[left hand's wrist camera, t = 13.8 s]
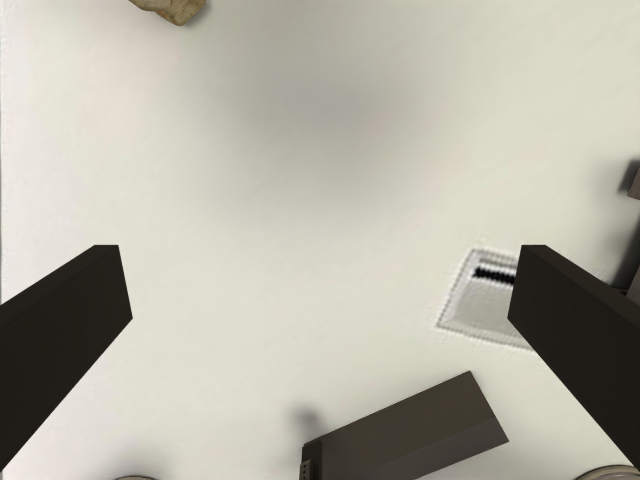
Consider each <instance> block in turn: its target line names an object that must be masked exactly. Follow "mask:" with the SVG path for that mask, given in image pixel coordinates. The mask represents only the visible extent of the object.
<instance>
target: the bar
mask: <svg viewBox="0 0 640 480" xmlns="http://www.w3.org/2000/svg"><path fill="white" fill-rule="evenodd" d="M317 440H320V441H321V442H322V480H415V479H417V478H420V477H422V476H425V475H427V474H430V473H432V472H435V471H437V470H440V469H442V468H445V467H447V466H450V465H452V464H455V463H457V462H460V461H462V460H465V459H467V458H470V457H472V456H474V455H477V454H479V453H482V452H484V451H487V450H489V449H492V448H494V447H497V446H499V445H502V444H504V443H507V442H509V440H508V438H507V436H506V434H505V433H504V431H503V429H502V427H501V425H500V424H499V422H498V420H497V418H496V416H495V414H494V413H493V411H492V409H491V407H490V405H489V404H488V402H487V400H486V398H485V396H484V395H483V393H482V391H481V389H480V387H479V386H478V384H477V382H476V380H475V378H474V377H473V375H472V373H471V371H468V372H466V373H464V374H461V375H459V376H457V377H455V378H452V379H450V380H448V381H446V382H443V383H441V384H439V385H437V386H434V387H432V388H430V389H428V390H425V391H423V392H421V393H419V394H416V395H414V396H412V397H410V398H407V399H405V400H403V401H401V402H398V403H396V404H394V405H392V406H389V407H387V408H385V409H383V410H380V411H378V412H376V413H374V414H371V415H369V416H367V417H364V418H362V419H360V420H358V421H355V422H353V423H351V424H349V425H346V426H344V427H342V428H340V429H337V430H335V431H333V432H331V433H328V434H326V435H324V436H322V437H319V438H317V439H315V440H313V441H310V442H308V443H306V444H304V446H306V445H309V444H311V443H313V442H315V441H317Z"/></svg>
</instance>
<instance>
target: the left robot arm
mask: <svg viewBox="0 0 640 480" xmlns="http://www.w3.org/2000/svg"><path fill="white" fill-rule="evenodd" d="M132 319H133V317H132V312H131V307H130V302H129V297H128V292H127V286H126V281H125V276H124V271H123V266H122V261H121V256H120V251H119V246H118V245H94V246H92V247H91V248H89V249H88V250H86V251H84V252H83V253H81V254H80V255H78V256H77V257H75V258H74V259H72V260H70V261H69V262H67V263H66V264H64V265H63V266H61V267H60V268H58V269H56V270H55V271H53V272H52V273H50V274H49V275H47V276H45V277H44V278H42V279H41V280H39V281H38V282H36V283H35V284H33V285H31V286H30V287H28V288H27V289H25V290H24V291H22V292H21V293H19V294H17V295H16V296H14V297H13V298H11V299H10V300H8V301H7V302H5V303H3V304H2V305H0V472H1V471H2V470H3V469H4V468H5V467H6V465H7V464H8V463H9V462H10V461H11V460H12V458H13V457H14V456H15V455H16V454H17V453H18V451H19V450H20V449H21V448H22V447H23V446H24V444H25V443H26V442H27V441H28V440H29V439H30V437H31V436H32V435H33V434H34V433H35V432H36V430H37V429H38V428H39V427H40V426H41V425H42V423H43V422H44V421H45V420H46V419H47V418H48V417H49V415H50V414H51V413H52V412H53V411H54V410H55V408H56V407H57V406H58V405H59V404H60V403H61V401H62V400H63V399H64V398H65V397H66V396H67V394H68V393H69V392H70V391H71V390H72V389H73V387H74V386H75V385H76V384H77V383H78V382H79V380H80V379H81V378H82V377H83V376H84V375H85V373H86V372H87V371H88V370H89V369H90V368H91V366H92V365H93V364H94V363H95V362H96V361H97V359H98V358H99V357H100V356H101V355H102V354H103V352H104V351H105V350H106V349H107V348H108V347H109V345H110V344H111V343H112V342H113V341H114V340H115V338H116V337H117V336H118V335H119V334H120V333H121V331H122V330H123V329H124V328H125V327H126V326H127V325H128V323H129V322H130V321H131V320H132ZM507 319H508V320H509V321H510V322H511V323H512V325H513V326H514V327H515V328H516V329H517V330H518V331H519V333H520V334H521V335H522V336H523V337H524V338H525V340H526V341H527V342H528V343H529V344H530V345H531V347H532V348H533V349H534V350H535V351H536V352H537V354H538V355H539V356H540V357H541V358H542V359H543V361H544V362H545V363H546V364H547V365H548V366H549V368H550V369H551V370H552V371H553V372H554V373H555V375H556V376H557V377H558V378H559V379H560V380H561V382H562V383H563V384H564V385H565V386H566V387H567V389H568V390H569V391H570V392H571V393H572V394H573V396H574V397H575V398H576V399H577V400H578V401H579V403H580V404H581V405H582V406H583V407H584V408H585V410H586V411H587V412H588V413H589V414H590V415H591V417H592V418H593V419H594V420H595V421H596V422H597V423H598V425H599V426H600V427H601V428H602V429H603V430H604V432H605V433H606V434H607V435H608V436H609V437H610V439H611V440H612V441H613V442H614V443H615V444H616V446H617V447H618V448H619V449H620V450H621V451H622V453H623V454H624V455H625V456H626V457H627V458H628V460H629V461H630V462H631V463H632V464H633V465H634V467H635V468H636V469H637V470H638V471H639V472H640V305H638V304H637V303H635V302H633V301H632V300H630V299H629V298H627V297H626V296H624V295H623V294H621V293H619V292H618V291H616V290H615V289H613V288H612V287H610V286H609V285H607V284H605V283H604V282H602V281H601V280H599V279H598V278H596V277H595V276H593V275H591V274H590V273H588V272H587V271H585V270H584V269H582V268H580V267H579V266H577V265H576V264H574V263H573V262H571V261H570V260H568V259H566V258H565V257H563V256H562V255H560V254H559V253H557V252H556V251H554V250H552V249H551V248H549V247H548V246H546V245H522V246H521V251H520V256H519V261H518V266H517V271H516V276H515V281H514V286H513V292H512V297H511V302H510V307H509V312H508V317H507Z"/></svg>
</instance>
